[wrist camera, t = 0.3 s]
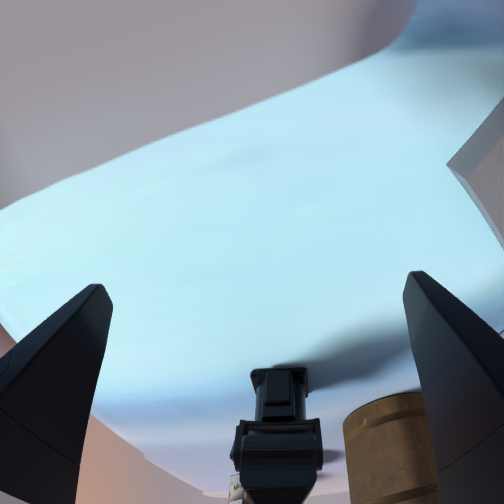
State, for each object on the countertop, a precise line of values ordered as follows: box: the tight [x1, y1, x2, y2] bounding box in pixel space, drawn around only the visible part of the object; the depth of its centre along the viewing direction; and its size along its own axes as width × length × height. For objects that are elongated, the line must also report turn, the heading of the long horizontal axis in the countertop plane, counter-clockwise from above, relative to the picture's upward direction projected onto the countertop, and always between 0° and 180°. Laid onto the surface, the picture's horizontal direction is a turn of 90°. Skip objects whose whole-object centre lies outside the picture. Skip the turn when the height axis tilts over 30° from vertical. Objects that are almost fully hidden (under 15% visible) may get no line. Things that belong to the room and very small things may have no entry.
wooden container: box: [343, 393, 440, 504], centre depth 32 cm, size 15×15×22 cm
